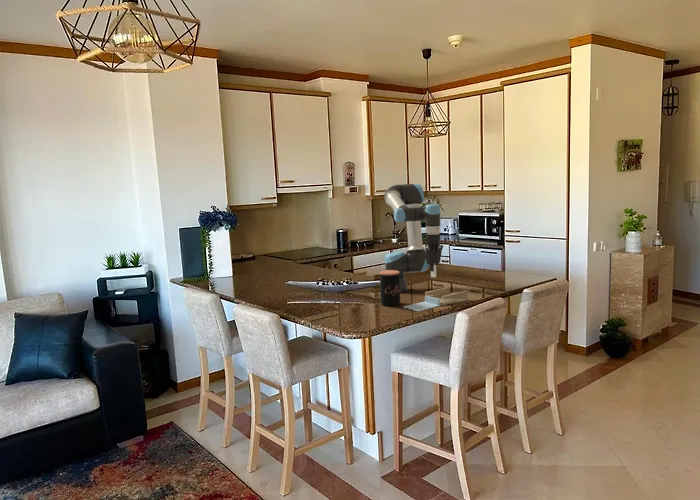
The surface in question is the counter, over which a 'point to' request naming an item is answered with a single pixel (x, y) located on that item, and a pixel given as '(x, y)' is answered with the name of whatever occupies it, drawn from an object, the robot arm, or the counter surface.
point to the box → (447, 296)
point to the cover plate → (425, 304)
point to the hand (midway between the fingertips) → (433, 276)
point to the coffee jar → (390, 287)
